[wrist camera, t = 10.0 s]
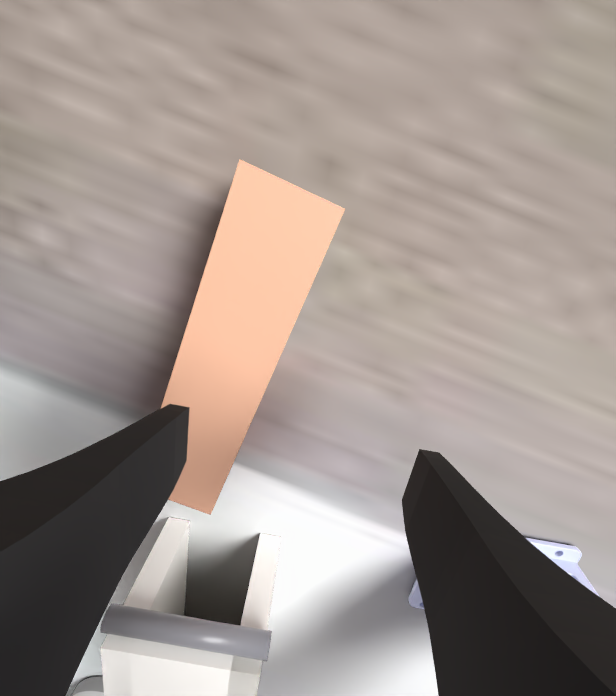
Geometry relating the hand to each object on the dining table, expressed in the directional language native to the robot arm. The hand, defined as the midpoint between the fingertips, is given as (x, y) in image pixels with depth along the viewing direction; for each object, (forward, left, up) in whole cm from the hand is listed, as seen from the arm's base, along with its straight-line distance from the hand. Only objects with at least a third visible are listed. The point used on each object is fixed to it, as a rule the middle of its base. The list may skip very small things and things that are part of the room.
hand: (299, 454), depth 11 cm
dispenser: (+4, +20, -9) cm, 23 cm away
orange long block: (+4, 0, -10) cm, 10 cm away
